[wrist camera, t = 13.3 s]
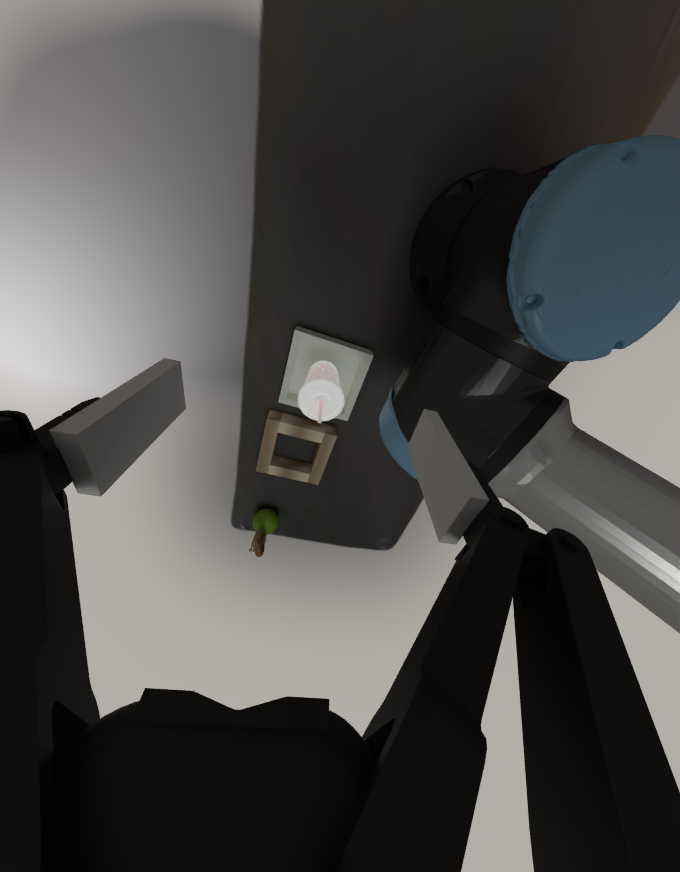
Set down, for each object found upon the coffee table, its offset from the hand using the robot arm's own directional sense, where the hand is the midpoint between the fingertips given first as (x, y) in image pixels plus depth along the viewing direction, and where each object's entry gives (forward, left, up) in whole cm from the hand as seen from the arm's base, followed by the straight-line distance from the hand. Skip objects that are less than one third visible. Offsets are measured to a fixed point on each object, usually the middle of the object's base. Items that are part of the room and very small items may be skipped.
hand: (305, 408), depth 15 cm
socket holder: (-2, +24, -28) cm, 37 cm away
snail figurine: (0, +44, -28) cm, 52 cm away
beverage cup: (-3, +9, -28) cm, 29 cm away
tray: (-3, +9, -28) cm, 30 cm away
